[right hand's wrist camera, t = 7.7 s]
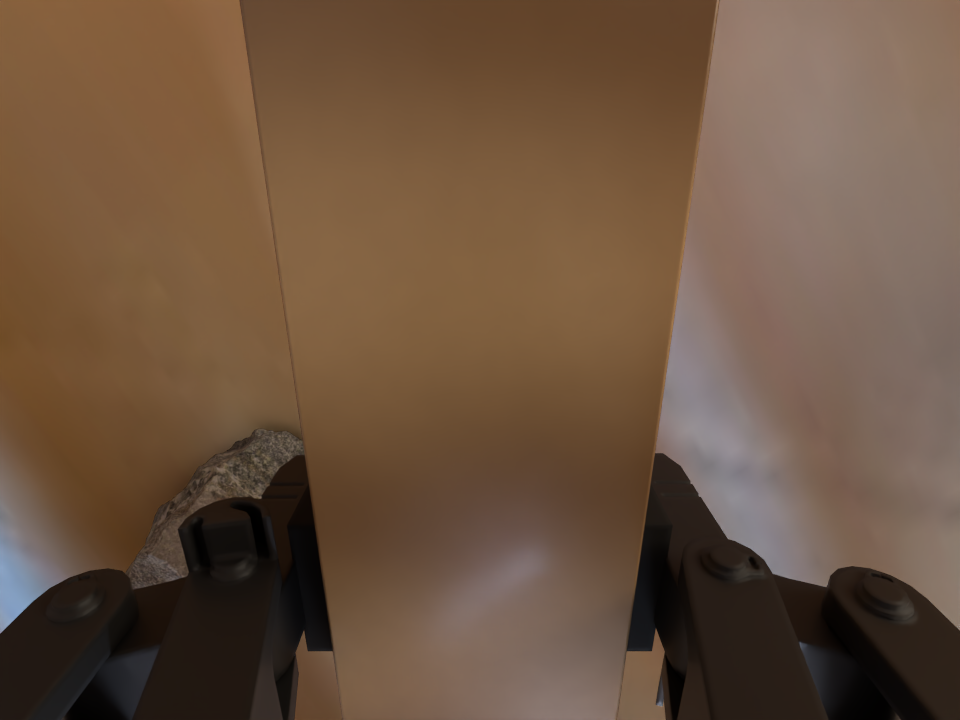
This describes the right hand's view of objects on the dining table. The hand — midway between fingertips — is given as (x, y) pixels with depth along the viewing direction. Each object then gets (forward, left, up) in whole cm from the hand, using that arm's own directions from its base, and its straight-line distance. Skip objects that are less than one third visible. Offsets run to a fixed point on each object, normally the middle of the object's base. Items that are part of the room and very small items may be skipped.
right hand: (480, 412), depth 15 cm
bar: (+4, +6, -1) cm, 8 cm away
